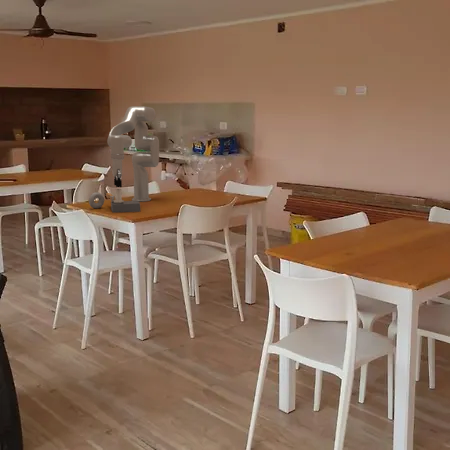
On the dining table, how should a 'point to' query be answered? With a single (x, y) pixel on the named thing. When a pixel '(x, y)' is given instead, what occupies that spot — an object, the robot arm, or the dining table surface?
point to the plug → (118, 196)
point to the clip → (110, 196)
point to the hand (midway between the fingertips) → (117, 186)
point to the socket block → (125, 206)
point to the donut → (92, 198)
